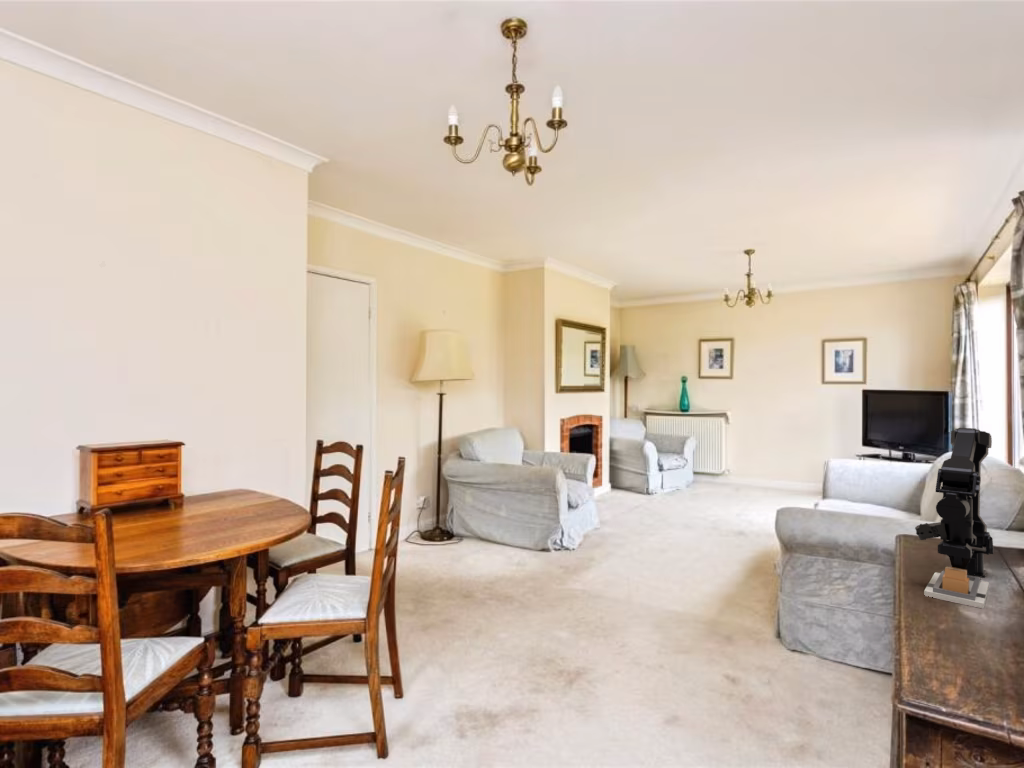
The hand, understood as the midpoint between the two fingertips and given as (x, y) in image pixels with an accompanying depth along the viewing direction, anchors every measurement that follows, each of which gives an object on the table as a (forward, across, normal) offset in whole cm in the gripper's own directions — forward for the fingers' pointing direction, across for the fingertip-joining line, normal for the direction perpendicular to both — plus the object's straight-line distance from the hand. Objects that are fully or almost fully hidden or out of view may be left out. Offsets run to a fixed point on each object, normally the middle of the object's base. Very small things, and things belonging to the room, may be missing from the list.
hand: (957, 577), depth 136 cm
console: (+3, 0, 0) cm, 3 cm away
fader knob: (+2, +4, 0) cm, 4 cm away
